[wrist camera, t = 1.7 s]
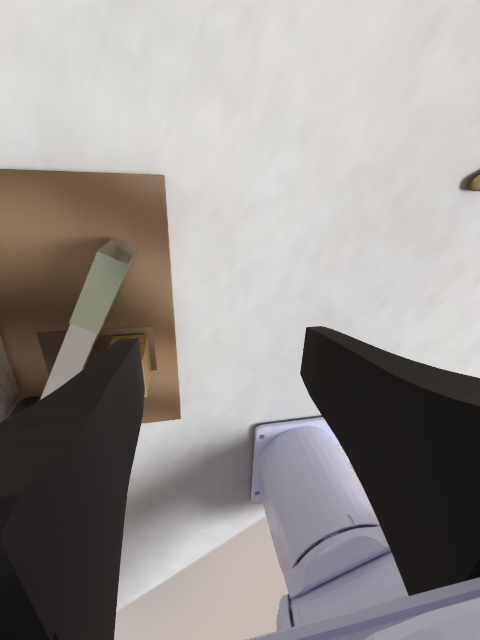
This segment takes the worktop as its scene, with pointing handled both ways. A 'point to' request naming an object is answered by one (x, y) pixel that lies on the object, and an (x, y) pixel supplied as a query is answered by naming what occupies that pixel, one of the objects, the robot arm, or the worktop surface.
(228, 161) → the worktop surface
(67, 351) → the bar
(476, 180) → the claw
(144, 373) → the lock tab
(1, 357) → the tongs fixed
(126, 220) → the board
